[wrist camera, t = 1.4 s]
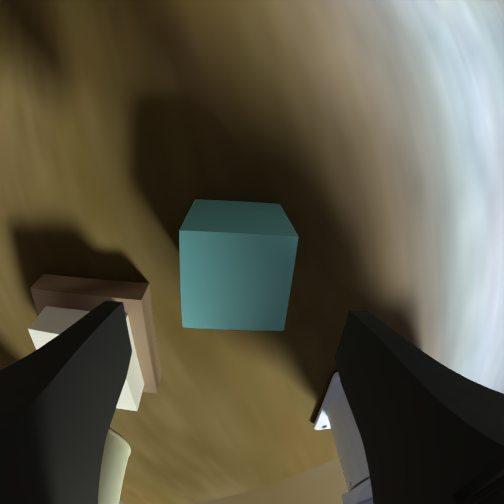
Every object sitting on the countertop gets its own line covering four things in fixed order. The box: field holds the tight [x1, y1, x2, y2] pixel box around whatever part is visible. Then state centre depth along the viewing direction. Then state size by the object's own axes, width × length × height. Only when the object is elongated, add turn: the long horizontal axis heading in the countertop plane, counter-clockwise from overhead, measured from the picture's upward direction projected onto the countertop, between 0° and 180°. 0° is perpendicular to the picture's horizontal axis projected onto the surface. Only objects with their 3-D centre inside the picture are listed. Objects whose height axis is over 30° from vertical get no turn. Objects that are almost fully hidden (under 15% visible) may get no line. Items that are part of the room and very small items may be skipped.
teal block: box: [179, 199, 299, 331], centre depth 14 cm, size 4×4×5 cm
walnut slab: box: [30, 274, 162, 393], centre depth 18 cm, size 8×8×2 cm
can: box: [98, 428, 131, 504], centre depth 19 cm, size 9×9×12 cm
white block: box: [28, 306, 144, 411], centre depth 16 cm, size 6×6×2 cm
